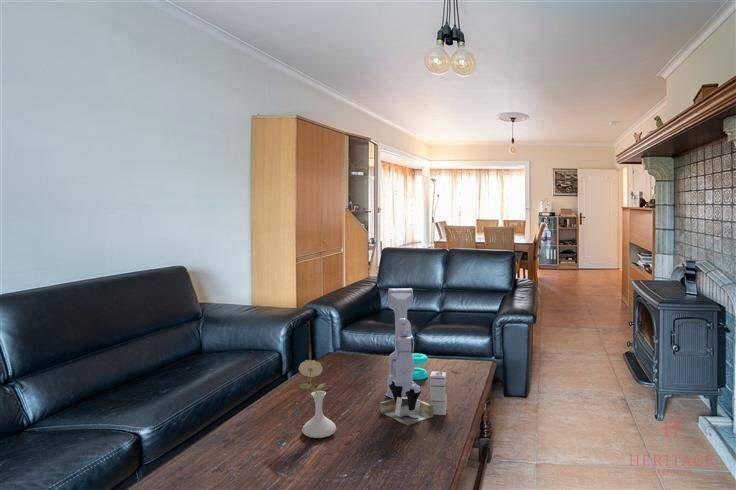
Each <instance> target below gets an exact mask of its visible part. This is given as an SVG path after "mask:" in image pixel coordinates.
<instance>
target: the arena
mask: <svg viewBox="0 0 736 490" xmlns="http://www.w3.org/2000/svg"><path fill="white" fill-rule="evenodd" d="M401 397H407V395H404V396H401ZM419 400H420V399H419ZM420 401H421V402H420V409H419V415H418V418H413V417H410V416H398V415H396V414H395V409H396V404H395V400H394V399H393V398H391V399H390V398H389V399H387V400H384V401H380V402H379V407H380V408H379V411H380V414H381V415H386V416H387V417H389V418H391V419H393V420H395V421H397V422H399V423H401V424H404V425H405V426H407V427H408V426H411V425H414V424H416V423H419V422H422V421H425V420H428V419H431V418H433V417H434V414H433V406H432V405H430V403H428V402H425V401H422V400H420Z"/></svg>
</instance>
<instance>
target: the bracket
mask: <svg viewBox="0 0 736 490" xmlns="http://www.w3.org/2000/svg"><path fill="white" fill-rule="evenodd" d="M421 401H422V400H421ZM421 401H420V399H419V398H418V399H417V402H416V405H415V409H414V410H412V411H410V410H409V407H408V398H407V397H397V402H396V409H395V414H396V415H398V416H410V417H413V418H418V415H419V409H420V402H421Z"/></svg>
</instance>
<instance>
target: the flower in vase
mask: <svg viewBox="0 0 736 490" xmlns="http://www.w3.org/2000/svg"><path fill="white" fill-rule="evenodd" d="M299 364H300V365H299V366H298V368H297V369H298V371H299V372H300V374H301V375H303V376H305V377H309V383H307V382H305V383H302V384H301V385H300V386H299V388H300V389H301V388H302V389H307V390H309V389H310V388H311V387H312V390H313V391H312V392H311V393H310V396H311V397H312V398H313V401H314V405H315V407H314V408H315V412H314V413H315V414H314V415H313V417H312V418H310V419H309V420H308V421H307V422H306V423H305V424H304V425H303V427H302V429H301V432H302V433H303V434H304V435H305V436H306V437H309V438H313V439H323V438H326V437H329V436H331V435H333V434H334V433H335V432H336V430H337V427H336V424H335V422H333V421H332V420H331V419H329V418H328V417H326V416H325V415H324V414H323V403H324V398H325V396H326V395H327V392H326V391H323V390H321V389H323V388H324V387H325V385H326V384H327V382H324V383H320V384H318V385H317V387H316V388H315V387H314V385H313V384H312V378H314V377H318V376H320V375H321V373H322V371H323V370H324V369H323V366H322V364H321V363H320V361H316V360H315V359H313V360H311V359H309V360H308V359H305V360H304V361H302V362H301V363H299Z"/></svg>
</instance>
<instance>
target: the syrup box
mask: <svg viewBox="0 0 736 490" xmlns="http://www.w3.org/2000/svg"><path fill="white" fill-rule="evenodd" d="M429 374H430V375H429V400H430V401H429V404H430V405H432V406H433V415H436V416H446V415H447V413H448V412H447V411H448V401H447V400H448V397H447V396H448V394H447V393H448V392H447V391H448V390H447V372H446V371H439V370H438V371H436V370H435V371H431V372H430V373H429Z"/></svg>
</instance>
